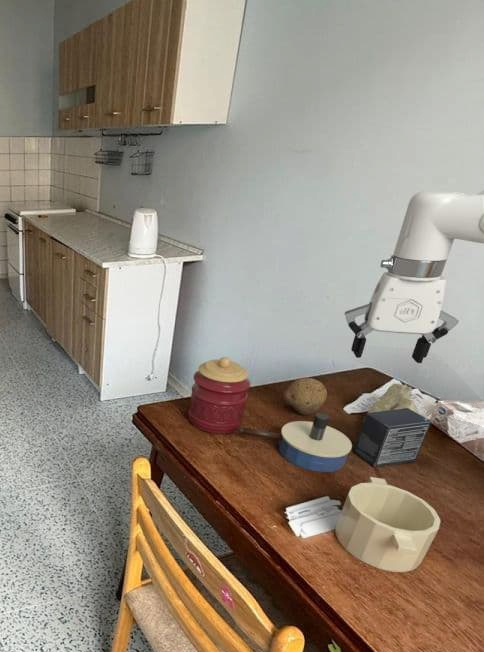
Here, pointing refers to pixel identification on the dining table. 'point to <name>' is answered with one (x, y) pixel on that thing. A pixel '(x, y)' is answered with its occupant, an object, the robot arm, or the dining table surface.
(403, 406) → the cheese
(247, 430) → the pan handle
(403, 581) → the dining table surface
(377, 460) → the small box
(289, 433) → the lid
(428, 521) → the pot
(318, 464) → the pan
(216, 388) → the kitchen canister
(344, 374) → the dining table surface
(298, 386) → the brown lumpy rounded lump
